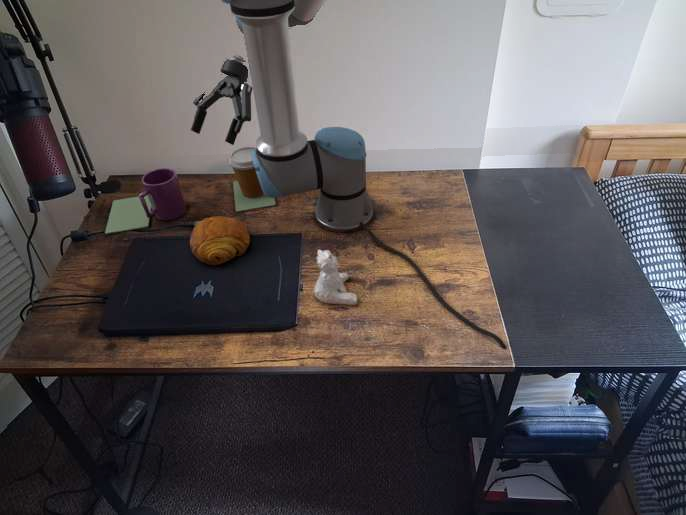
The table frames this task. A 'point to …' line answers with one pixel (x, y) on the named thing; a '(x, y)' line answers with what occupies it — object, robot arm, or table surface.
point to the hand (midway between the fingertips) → (211, 137)
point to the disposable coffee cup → (246, 172)
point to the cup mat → (250, 200)
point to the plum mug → (163, 194)
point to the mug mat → (127, 215)
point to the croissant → (219, 239)
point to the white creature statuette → (332, 281)
